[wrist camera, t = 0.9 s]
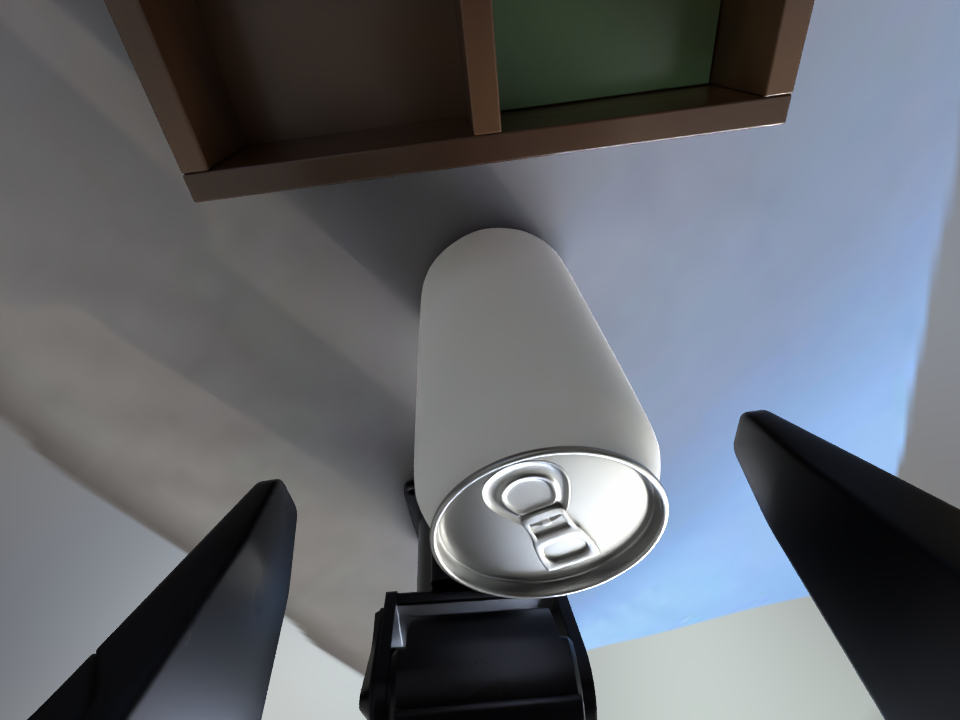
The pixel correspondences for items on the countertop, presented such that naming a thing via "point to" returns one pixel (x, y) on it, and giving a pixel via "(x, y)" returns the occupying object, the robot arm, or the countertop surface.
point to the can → (527, 427)
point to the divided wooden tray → (445, 81)
